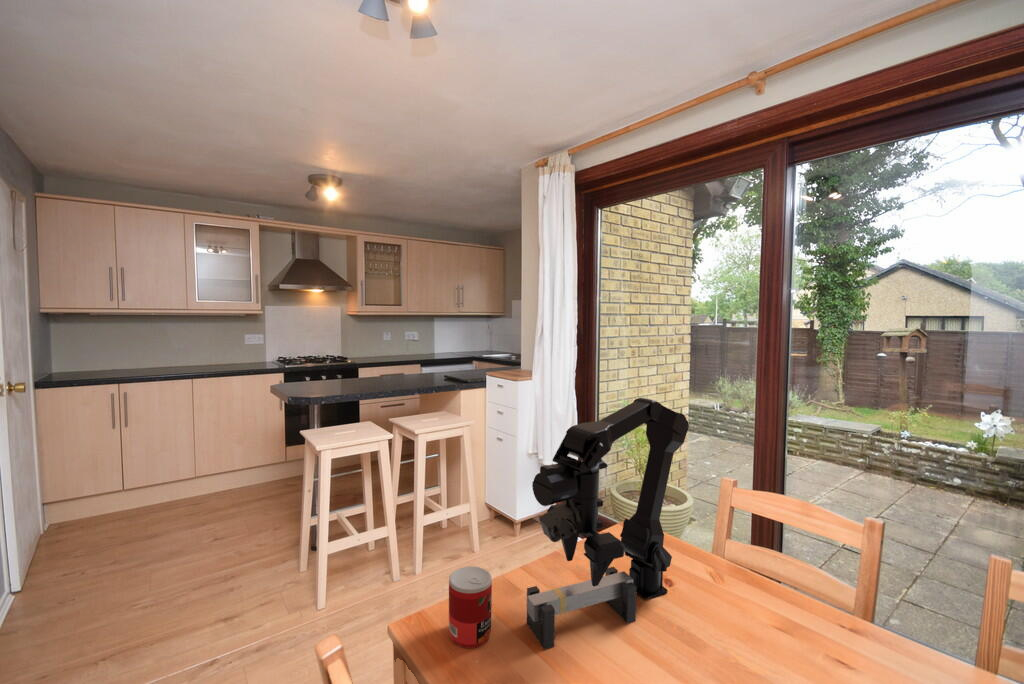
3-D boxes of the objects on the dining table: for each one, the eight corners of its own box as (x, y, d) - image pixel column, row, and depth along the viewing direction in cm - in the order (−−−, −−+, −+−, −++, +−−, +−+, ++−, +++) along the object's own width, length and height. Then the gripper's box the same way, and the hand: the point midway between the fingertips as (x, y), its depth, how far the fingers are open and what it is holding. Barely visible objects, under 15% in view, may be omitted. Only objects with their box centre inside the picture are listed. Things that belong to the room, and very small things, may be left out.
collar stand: (612, 598, 95) (613, 566, 95) (635, 621, 88) (636, 586, 88) (526, 623, 88) (526, 588, 87) (544, 649, 81) (544, 611, 80)
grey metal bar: (623, 585, 93) (623, 570, 93) (632, 593, 91) (633, 578, 90) (526, 611, 85) (526, 595, 85) (533, 622, 82) (534, 605, 82)
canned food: (485, 652, 80) (485, 592, 79) (442, 645, 81) (442, 586, 81) (495, 623, 87) (496, 568, 87) (456, 617, 89) (456, 563, 88)
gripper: (524, 482, 92) (523, 556, 93) (571, 520, 75) (569, 612, 76) (572, 475, 96) (570, 546, 97) (627, 510, 79) (624, 596, 80)
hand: (581, 572), depth 87 cm, fingers open, 9 cm apart
